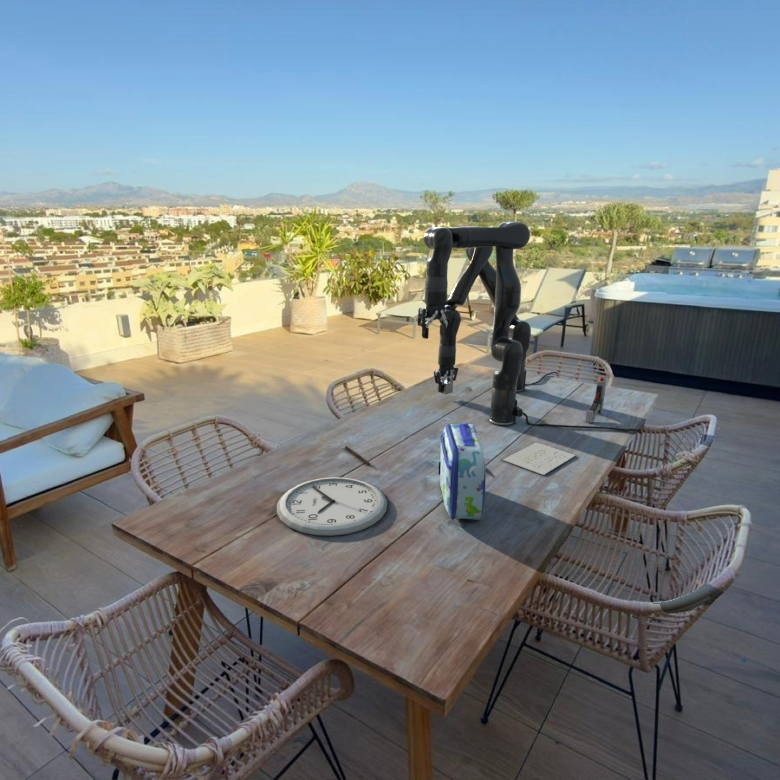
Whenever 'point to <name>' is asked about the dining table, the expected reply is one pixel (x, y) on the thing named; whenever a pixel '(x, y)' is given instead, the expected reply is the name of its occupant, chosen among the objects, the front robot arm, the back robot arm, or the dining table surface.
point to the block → (447, 387)
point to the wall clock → (331, 506)
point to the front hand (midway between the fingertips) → (434, 336)
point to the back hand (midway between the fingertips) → (445, 391)
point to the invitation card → (539, 458)
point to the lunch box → (462, 472)
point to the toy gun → (597, 401)
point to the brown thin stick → (357, 455)
